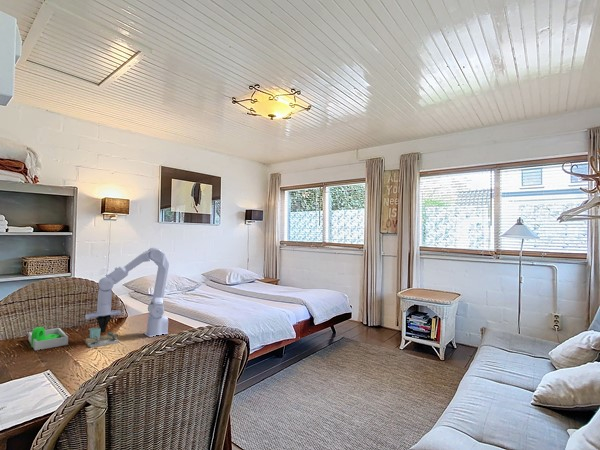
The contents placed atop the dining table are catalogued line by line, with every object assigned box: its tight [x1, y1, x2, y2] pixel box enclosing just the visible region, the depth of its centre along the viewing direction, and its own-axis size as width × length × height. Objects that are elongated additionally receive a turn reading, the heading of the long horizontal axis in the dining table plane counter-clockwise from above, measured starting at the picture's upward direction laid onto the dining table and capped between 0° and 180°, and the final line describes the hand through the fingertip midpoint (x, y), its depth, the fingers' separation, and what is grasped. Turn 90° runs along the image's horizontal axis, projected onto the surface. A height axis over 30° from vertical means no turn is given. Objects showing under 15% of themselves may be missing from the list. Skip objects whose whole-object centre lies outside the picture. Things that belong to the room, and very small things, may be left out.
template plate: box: [86, 338, 120, 349], centre depth 148 cm, size 12×5×1 cm, turn 137°
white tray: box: [27, 327, 69, 351], centre depth 147 cm, size 12×18×4 cm, turn 47°
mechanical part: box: [30, 326, 60, 348], centre depth 147 cm, size 12×6×8 cm, turn 7°
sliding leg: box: [89, 326, 101, 342], centre depth 149 cm, size 4×7×5 cm, turn 47°
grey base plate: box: [84, 331, 119, 345], centre depth 151 cm, size 13×7×3 cm, turn 137°
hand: (102, 332), depth 152 cm, fingers closed
